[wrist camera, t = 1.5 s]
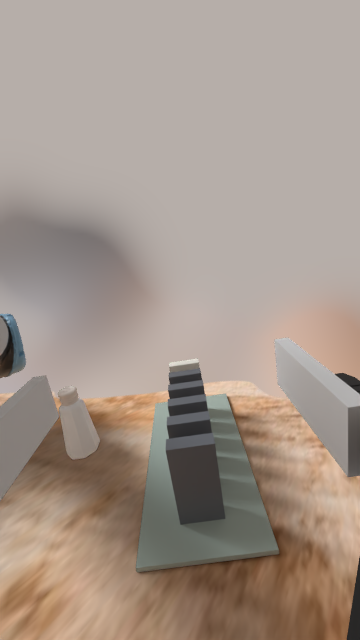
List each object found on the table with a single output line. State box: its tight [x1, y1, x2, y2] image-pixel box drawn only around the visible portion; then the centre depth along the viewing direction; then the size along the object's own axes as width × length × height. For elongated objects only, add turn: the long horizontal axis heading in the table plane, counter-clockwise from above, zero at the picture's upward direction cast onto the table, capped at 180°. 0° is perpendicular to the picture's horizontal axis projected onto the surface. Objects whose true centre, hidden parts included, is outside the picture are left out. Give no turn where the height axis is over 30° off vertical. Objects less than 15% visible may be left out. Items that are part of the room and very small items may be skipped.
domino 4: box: [168, 394, 208, 416], centre depth 36 cm, size 2×5×10 cm, turn 91°
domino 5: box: [167, 411, 212, 439], centre depth 33 cm, size 2×5×10 cm, turn 91°
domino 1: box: [169, 359, 199, 373], centre depth 47 cm, size 2×5×10 cm, turn 91°
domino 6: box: [166, 433, 225, 525], centre depth 29 cm, size 2×5×10 cm, turn 92°
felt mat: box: [136, 394, 279, 572], centre depth 39 cm, size 28×14×1 cm, turn 1°
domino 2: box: [169, 368, 202, 385], centre depth 43 cm, size 2×5×10 cm, turn 91°
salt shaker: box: [58, 386, 100, 460], centre depth 43 cm, size 5×5×11 cm
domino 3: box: [168, 380, 205, 399], centre depth 40 cm, size 2×5×10 cm, turn 91°
